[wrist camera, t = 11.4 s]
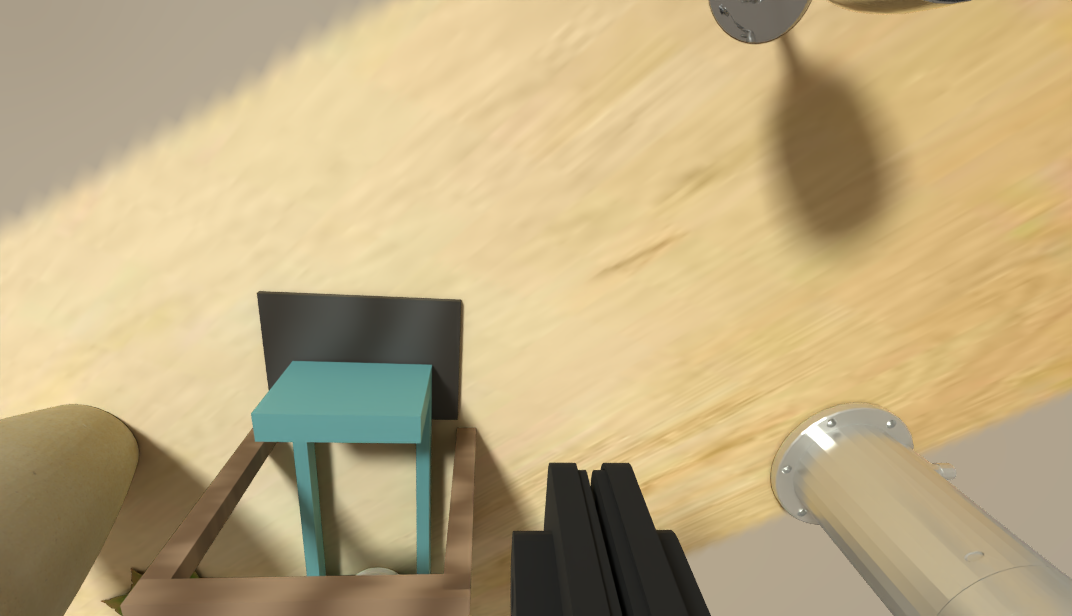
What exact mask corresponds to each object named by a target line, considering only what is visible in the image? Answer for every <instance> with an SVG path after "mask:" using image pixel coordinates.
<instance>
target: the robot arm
mask: <svg viewBox="0 0 1072 616" xmlns="http://www.w3.org/2000/svg"><path fill="white" fill-rule="evenodd" d="M913 446H914V445H913V440H912V436H911V433H910V431H909V430H908V428H907V426H906V425H905V424H904V423H903V422H902V421H901V420H900V418H898V417H897V416H895V415H894V414H893V413H891V412H890V411H889V410H887V409H885V408H882V407H880V406H878V405H874V404H869V403H847V404H841V405H837V406H834V407H831V408H828V409H825V410H823V411H821V412H819V413H817V414H815V415H813V416H811V417H810V418H808V419H807V420H805V421H804V422H802V423H801V424H800V425H799V426H798V427H797V428H796V429H794V430H793V431H792V432H791V433H790V434H789V436H788V437H787V438H786V439H785V441H784V442H783V443H782V445H781V446H780V448H779V450H778V452H777V454H776V456H775V459H774V462H773V464H772V470H771V485H772V489H773V492H774V494H775V497H776V498H777V499H778V501H779V502H780V504H781V505H782V507H783V508H784V509H785V510H786V511H787V512H788V513H789V514H790V515H792V516H793V517H795V518H796V519H799V520H801V521H804V522H806V523H810V524H817V525H820V526H821V527H822V528H823V529H824V530H825V532H826V533H827V534H828V535H829V536H830V538H831V539H832V540H833V542H834V543H835V544H836V545H837V546H838V548H839V549H840V550H841V551H842V553H843V554H844V555H845V556H846V558H847V559H848V560H849V561H850V562H851V564H852V565H853V566H854V567H855V568H856V570H857V571H858V572H859V574H860V575H861V576H862V577H863V578H864V580H865V581H866V582H867V583H868V585H869V586H870V587H871V588H872V589H873V591H874V592H875V593H876V594H877V596H878V597H879V598H880V599H881V601H882V602H883V603H884V604H885V605H886V607H887V608H888V609H889V610H890V612H891V613H892V614H893V615H894V616H1072V579H1071V578H1070V577H1069V576H1067V575H1066V574H1065V573H1063V572H1062V571H1060V570H1059V569H1058V568H1057V567H1055V566H1054V565H1053V564H1052V563H1050V562H1049V561H1048V560H1047V559H1045V558H1044V557H1043V556H1042V555H1040V554H1039V553H1038V552H1036V551H1035V550H1034V549H1033V548H1031V547H1030V546H1029V545H1028V544H1026V543H1025V542H1024V541H1023V540H1021V539H1020V538H1019V537H1018V536H1016V535H1015V534H1014V533H1012V532H1011V531H1010V530H1009V529H1008V528H1006V527H1005V526H1004V525H1003V524H1001V523H1000V522H999V521H997V520H996V519H995V518H994V517H992V516H991V515H990V514H989V513H987V512H986V511H985V510H984V509H982V508H981V507H980V506H979V505H977V504H976V503H975V502H974V501H972V500H971V499H970V498H969V497H967V496H966V495H965V494H964V493H962V492H961V491H960V490H959V489H957V488H956V487H955V486H954V485H952V484H951V483H950V482H948V481H947V480H951V479H954V478H955V477H956V470H955V468H954V467H953V465H951V464H949V463H932V464H931V463H930V462H929V461H927V460H926V459H925V458H923V457H922V456H921V455H920V454H918V453H917V452H916V451H915V450H913ZM511 616H711V615H710V613H709V610H708V608H707V606H706V604H705V601H704V599H703V596H702V594H701V592H700V589H699V587H698V585H697V583H696V580H695V578H694V575H693V573H692V571H691V568H690V566H689V564H688V561H687V559H686V557H685V554H684V552H683V550H682V547H681V545H680V543H679V540H678V538H677V536H676V535H675V533H674V532H673V531H672V530H656V529H655V527H654V524H653V521H652V519H651V516H650V513H649V511H648V508H647V506H646V503H645V500H644V498H643V495H642V493H641V490H640V487H639V485H638V482H637V480H636V477H635V474H634V472H633V469H632V467H631V465H630V464H629V463H603V464H602V466H601V470H593V472H592V477H591V486H590V483H589V479H588V475H587V472H586V470H578V469H577V465H576V463H549V466H548V478H547V492H546V506H545V519H544V531H513V534H512V553H511Z"/></svg>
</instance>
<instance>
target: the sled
mask: <svg viewBox="0 0 1072 616" xmlns="http://www.w3.org/2000/svg"><path fill="white" fill-rule="evenodd" d="M251 416H252V423H253V431H254V438H255V442H293V450H294V459H295V468H296V478H297V487H298V496H299V506H300V515H301V524H302V534H303V543H304V552H305V562H306V571H307V576H326V569H325V557H324V546H323V535H322V524H321V513H320V502H319V490H318V479H317V468H316V457H315V446H314V442H335V443H416V500H417V574H431V430H432V365H422V364H386V363H350V362H314V361H292V362H291V364H290V365H289V366H288V367H287V369H286V370H285V371H284V373H283V374H282V375H281V376H280V378H279V379H278V380H277V381H276V383H275V384H274V385H273V387H272V388H271V389H270V390H269V392H268V393H267V394H266V395H265V397H264V398H263V399H262V400H261V402H260V403H259V404H258V406H257V407H256V408H255V409H254V411H253V412H252V413H251Z"/></svg>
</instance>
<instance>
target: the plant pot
mask: <svg viewBox="0 0 1072 616" xmlns="http://www.w3.org/2000/svg"><path fill="white" fill-rule="evenodd" d="M138 460H139V448H138V445H137V442H136V439H135V438H134V436H133V434H132V433H131V431H130V430H129V429H128V428H127V426H125V425H124V424H123V423H122V422H121V421H120V420H119V419H117V418H116V417H114V416H113V415H111V414H109V413H107V412H105V411H103V410H100V409H98V408H95V407H91V406H87V405H78V404H69V405H61V406H56V407H52V408H47V409H42V410H38V411H33V412H29V413H25V414H21V415H17V416H13V417H9V418H5V419H1V420H0V616H64V614H65V612H66V611H67V609H68V607H69V606H70V604H71V602H72V601H73V599H74V597H75V596H76V594H77V592H78V591H79V589H80V587H81V585H82V584H83V582H84V580H85V578H86V577H87V575H88V573H89V571H90V569H91V567H92V566H93V564H94V562H95V560H96V558H97V556H98V554H99V552H100V550H101V548H102V547H103V545H104V543H105V541H106V538H107V536H108V534H109V532H110V530H111V528H112V526H113V524H114V522H115V520H116V517H117V515H118V513H119V511H120V509H121V506H122V504H123V502H124V499H125V497H126V494H127V492H128V489H129V487H130V484H131V481H132V479H133V476H134V473H135V470H136V467H137V463H138Z"/></svg>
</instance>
